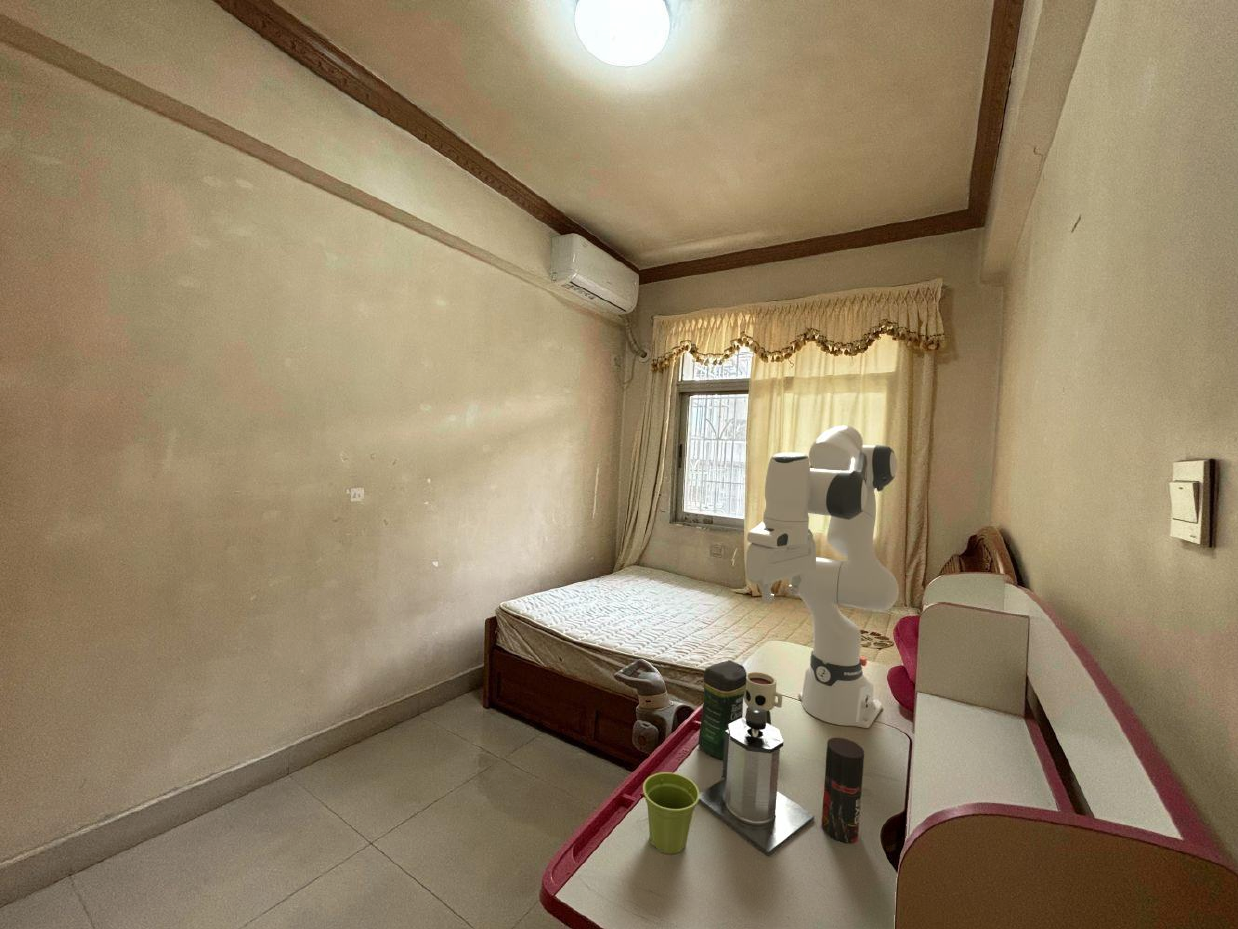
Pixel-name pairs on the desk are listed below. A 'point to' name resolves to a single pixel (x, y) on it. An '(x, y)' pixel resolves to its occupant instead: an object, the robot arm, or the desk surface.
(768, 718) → the character mug
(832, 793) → the deodorant
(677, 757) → the desk surface
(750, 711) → the domed grey knob
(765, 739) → the silver octagonal canister
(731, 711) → the coffee jar
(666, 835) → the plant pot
